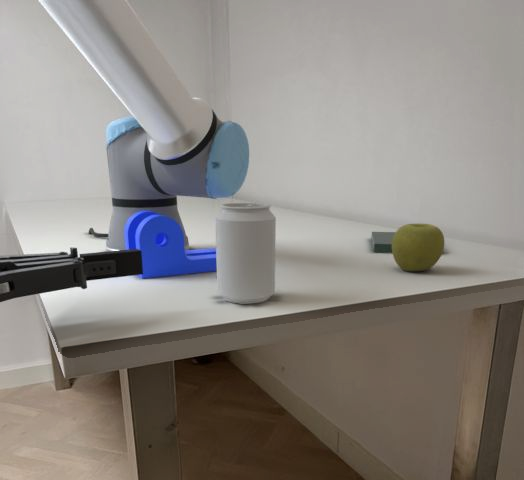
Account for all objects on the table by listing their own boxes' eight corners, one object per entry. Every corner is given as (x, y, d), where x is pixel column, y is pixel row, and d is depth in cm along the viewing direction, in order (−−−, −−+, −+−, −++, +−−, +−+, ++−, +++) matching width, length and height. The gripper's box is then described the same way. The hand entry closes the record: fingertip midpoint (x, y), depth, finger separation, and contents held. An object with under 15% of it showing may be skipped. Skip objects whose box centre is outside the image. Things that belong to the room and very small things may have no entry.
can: (218, 291, 76) (215, 200, 71) (272, 290, 76) (273, 200, 72) (216, 305, 69) (213, 206, 64) (276, 305, 69) (278, 206, 65)
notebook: (373, 252, 104) (374, 243, 103) (371, 239, 119) (371, 231, 118) (439, 254, 102) (440, 245, 102) (428, 240, 117) (429, 232, 116)
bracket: (142, 278, 83) (137, 217, 80) (127, 268, 90) (122, 211, 87) (249, 267, 91) (248, 211, 88) (228, 258, 98) (227, 206, 95)
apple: (445, 275, 85) (450, 228, 82) (391, 274, 86) (395, 227, 83) (436, 266, 92) (441, 222, 89) (387, 264, 93) (391, 221, 90)
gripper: (-94, 308, 58) (124, 282, 70) (-93, 343, 48) (163, 306, 60) (-110, 237, 56) (119, 222, 67) (-113, 257, 45) (159, 235, 57)
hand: (139, 261), depth 63 cm, fingers closed
